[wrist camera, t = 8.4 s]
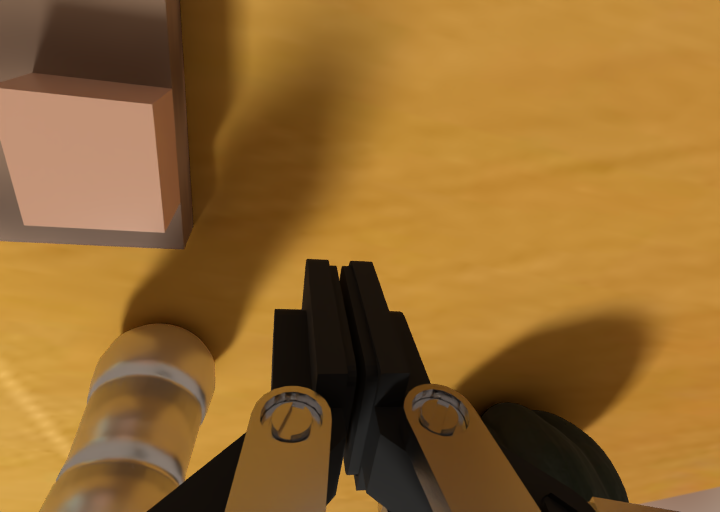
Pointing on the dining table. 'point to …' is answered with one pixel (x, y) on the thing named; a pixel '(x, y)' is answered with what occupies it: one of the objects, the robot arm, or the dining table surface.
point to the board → (106, 63)
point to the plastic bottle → (137, 423)
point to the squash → (555, 449)
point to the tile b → (90, 152)
